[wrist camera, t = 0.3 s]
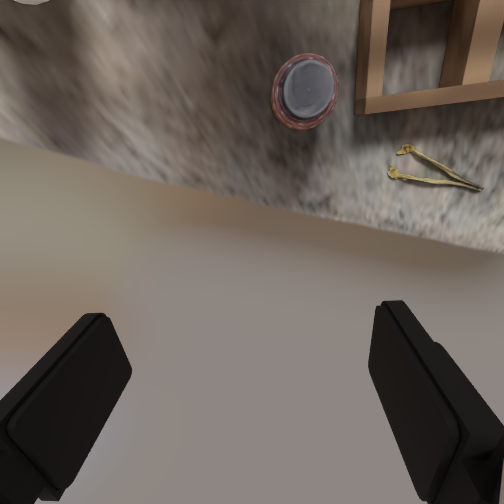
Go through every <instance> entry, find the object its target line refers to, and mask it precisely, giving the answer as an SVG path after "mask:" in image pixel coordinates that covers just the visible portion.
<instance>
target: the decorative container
mask: <svg viewBox="0 0 504 504" xmlns="http://www.w3.org/2000/svg"><path fill="white" fill-rule="evenodd" d="M14 1H17V2H19V3H22V4H32V5H38V4H41V3H44V2H47V1H49V0H14Z"/></svg>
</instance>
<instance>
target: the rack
mask: <svg viewBox="0 0 504 504" xmlns="http://www.w3.org/2000/svg"><path fill="white" fill-rule="evenodd" d="M444 1H450V0H360V18H359V36H358V54H357V72H356V90H355V108H354V115H361V114H372V113H379V112H387V111H395V110H403V109H411V108H419V107H427V106H435V105H443V104H451V103H459V102H467V101H475V100H483V99H491V98H498V97H504V80H497V81H490V82H489V78H490V74H491V70H492V66H493V62H494V58H495V54H496V50H497V46H498V42H499V38H500V34H501V30H502V26H503V22H504V0H455V1H454V6H453V12H452V18H451V23H450V29H449V34H448V40H447V46H446V51H445V57H444V62H443V68H442V74H441V79H440V85H439V88H437V89H429V90H422V91H414V92H407V93H399V94H392V95H384V96H382V86H383V75H384V64H385V54H386V43H387V33H388V22H389V12H390V10H396V9H402V8H408V7H414V6H420V5H426V4H432V3H438V2H444Z"/></svg>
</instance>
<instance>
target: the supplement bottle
mask: <svg viewBox="0 0 504 504" xmlns="http://www.w3.org/2000/svg"><path fill="white" fill-rule="evenodd" d="M337 97H338V78H337V75H336V72H335V70H334V68H333V66H332V65H331V64H330V62H329V61H328V60H326V58H324V57H322V56H320V55H317V54H314V53H303V54H299V55H296V56H294V57H292V58H291V59H290V60H288V61H287V62H286V63H285V64H284V65H283V66H282V67H281V68H280V70H279V71H278V73H277V75H276V77H275V79H274V82H273V86H272V92H271V105H272V110H273V113H274V115H275V117H276V118H277V120H278V121H279V122H280V123H281V124H283V125H284V126H286V127H288V128H291V129H295V130H307V129H311V128H313V127H316V126H317V125H319V124H320V123H322V122H323V121H324V120H325V119H326V118H327V117H328V116H329V114H330V113H331V112H332V110H333V108H334V106H335V103H336V100H337Z"/></svg>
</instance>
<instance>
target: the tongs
mask: <svg viewBox="0 0 504 504" xmlns="http://www.w3.org/2000/svg"><path fill="white" fill-rule="evenodd" d="M403 148H405V151H404V150H403ZM408 152H412V153H414V154H416V155H417V156H419V157H421V158H423V159H425V160H428V161H430V162H431V163H433V164H434V165H436V166H437V167H439V168H440V169H442V170H444V171H445V172H447V173H448V174H449V175H450V176H452V177H454V178H456V179H458V180H460V182H452V181H446V180H436V179H427V178H417V177H413V176H408V175H403V174H399V173H398V170H397V169H396V168H395V167H394V166H393V165H392V164H390V171H392V170H394V172H393V173H390V171H389V172H388V175H389V176H390V177H392V178H394V179H397V178H407V179H414V180H420V181H424V182H429V183H435V184H443V185H456V186H462V187H466V188H470V189H474V190H477V191H482V189H484V188H483V187H481V186H479V185H476V184H474V183H472V182H470V181H468V180H466V179H464V178H462V177H460V176H459V175H457V174H456V173H455V172H454V171H452V170H451V169H449V168H447V167H446V166H444V165H442V164H440V163H438V162H436V161H434V160H432V159H430V158H428V157H427V156H425V155H423V154H422V153H420V152H418V151H417V150H416V149H415V146H412V145H409V144H405V145H402V148H401V150H400V151H398V152H396V154H407V153H408Z"/></svg>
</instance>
